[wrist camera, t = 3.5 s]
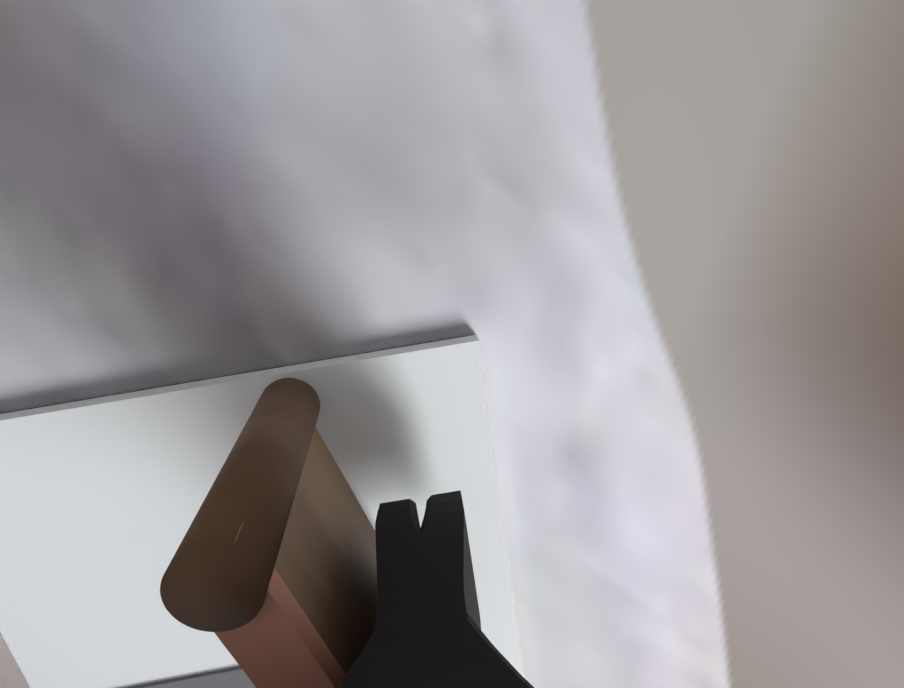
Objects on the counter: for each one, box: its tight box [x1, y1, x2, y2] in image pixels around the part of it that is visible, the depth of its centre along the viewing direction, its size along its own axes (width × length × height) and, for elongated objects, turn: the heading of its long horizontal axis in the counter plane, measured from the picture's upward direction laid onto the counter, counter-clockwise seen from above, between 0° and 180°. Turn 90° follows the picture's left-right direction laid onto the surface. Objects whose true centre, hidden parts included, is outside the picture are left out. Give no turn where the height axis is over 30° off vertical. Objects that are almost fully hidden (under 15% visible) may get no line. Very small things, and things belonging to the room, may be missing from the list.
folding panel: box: [160, 378, 378, 688], centre depth 10 cm, size 8×1×5 cm, turn 23°
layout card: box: [0, 335, 525, 688], centre depth 15 cm, size 17×12×1 cm
